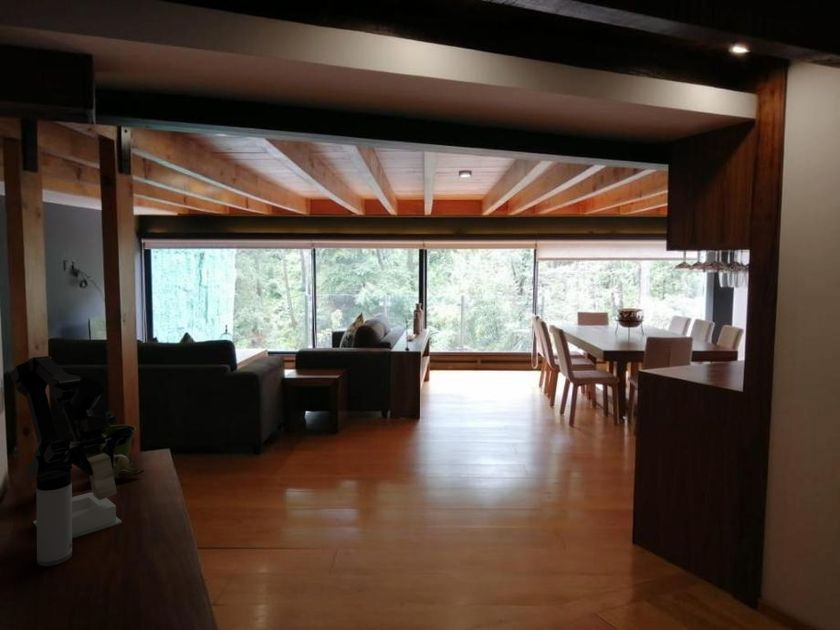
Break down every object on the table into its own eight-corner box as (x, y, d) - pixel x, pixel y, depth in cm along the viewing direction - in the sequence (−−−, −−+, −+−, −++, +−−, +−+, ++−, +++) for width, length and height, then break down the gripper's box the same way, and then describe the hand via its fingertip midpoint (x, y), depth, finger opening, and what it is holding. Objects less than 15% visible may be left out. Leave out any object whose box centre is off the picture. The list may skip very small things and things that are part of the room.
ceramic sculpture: (81, 450, 154) (136, 444, 165) (79, 478, 154) (134, 470, 165) (89, 460, 147) (146, 453, 157) (87, 490, 147) (144, 480, 157)
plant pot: (98, 472, 160) (98, 437, 160) (91, 461, 169) (91, 428, 168) (140, 464, 168) (140, 431, 167) (131, 454, 177) (131, 422, 176)
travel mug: (80, 554, 114) (80, 466, 113) (50, 569, 108) (49, 477, 106) (60, 548, 116) (59, 462, 115) (30, 563, 110) (29, 472, 108)
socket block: (33, 523, 127) (33, 505, 126) (101, 504, 138) (101, 488, 138) (50, 545, 117) (50, 526, 117) (121, 523, 128) (121, 505, 128)
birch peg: (93, 495, 128) (86, 459, 126) (110, 488, 131) (103, 452, 129) (99, 500, 125) (92, 463, 123) (116, 493, 128) (110, 456, 126)
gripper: (48, 409, 120) (70, 466, 115) (130, 396, 136) (151, 445, 130) (35, 434, 125) (54, 490, 120) (114, 419, 141) (135, 468, 135)
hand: (101, 472), depth 126 cm, fingers closed on birch peg, 4 cm apart
